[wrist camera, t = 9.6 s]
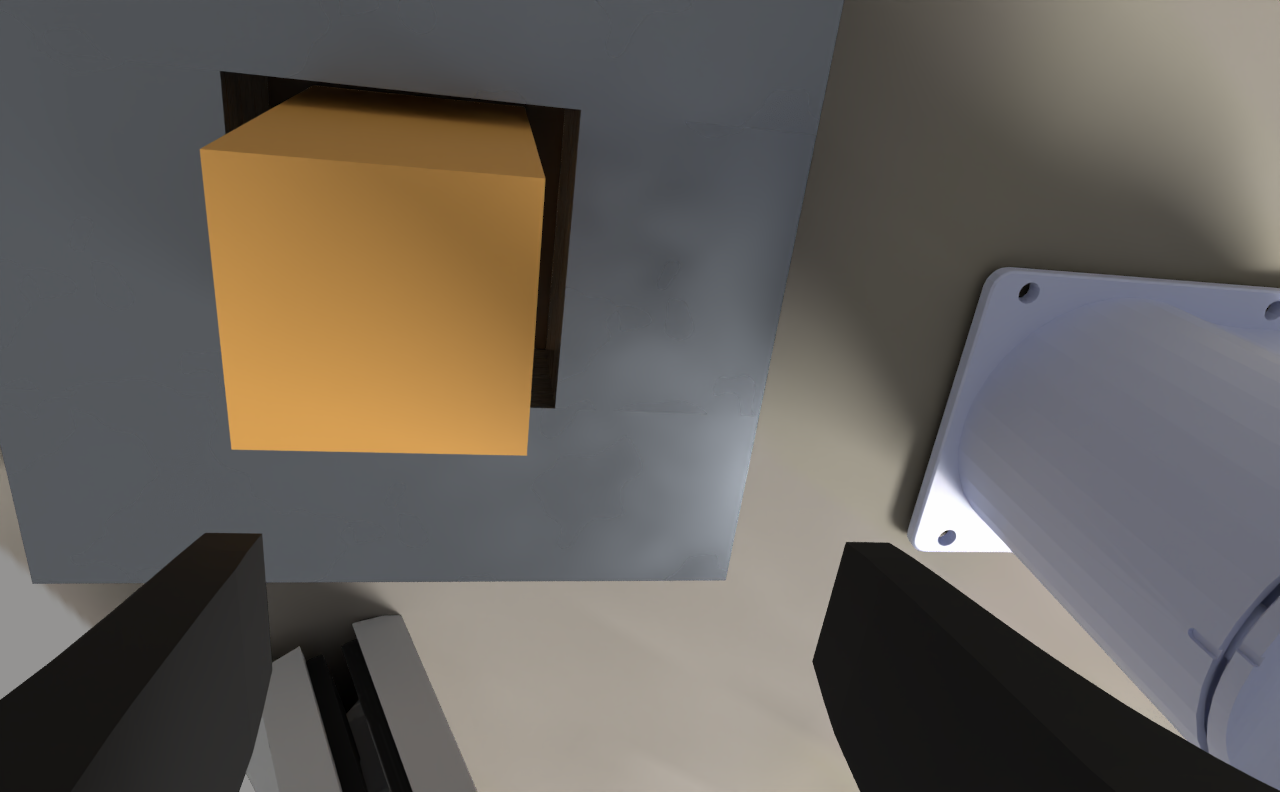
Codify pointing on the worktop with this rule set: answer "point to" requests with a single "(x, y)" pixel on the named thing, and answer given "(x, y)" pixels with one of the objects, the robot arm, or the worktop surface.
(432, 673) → the worktop surface
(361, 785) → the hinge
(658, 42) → the grey square-hole board
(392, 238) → the block
